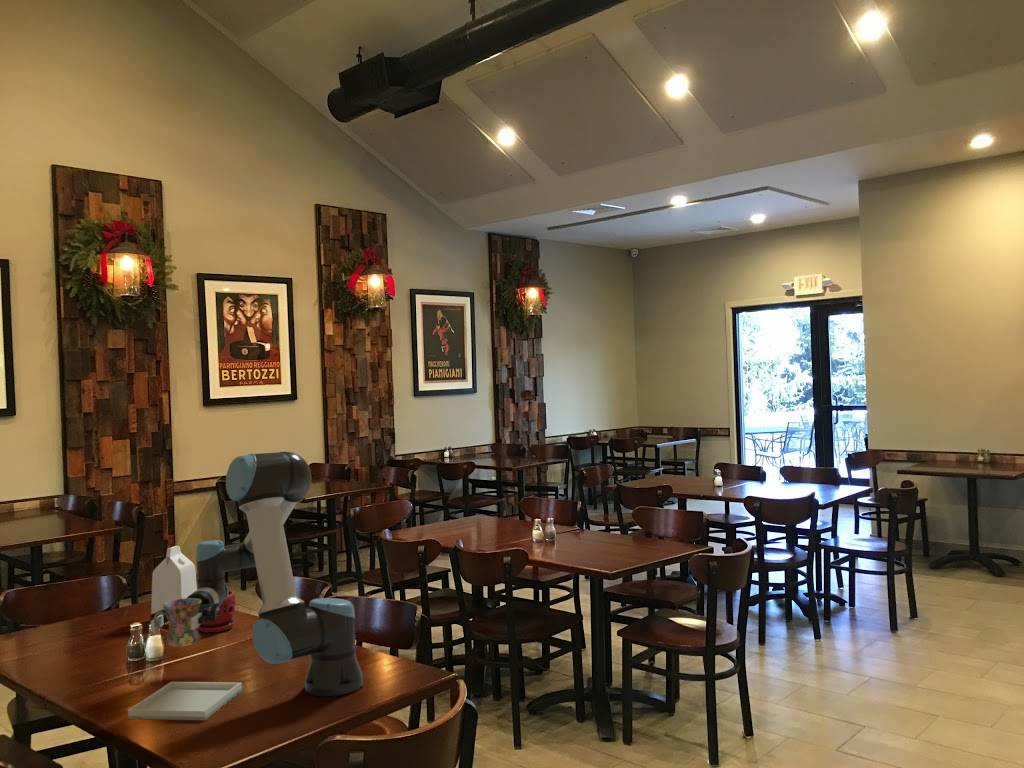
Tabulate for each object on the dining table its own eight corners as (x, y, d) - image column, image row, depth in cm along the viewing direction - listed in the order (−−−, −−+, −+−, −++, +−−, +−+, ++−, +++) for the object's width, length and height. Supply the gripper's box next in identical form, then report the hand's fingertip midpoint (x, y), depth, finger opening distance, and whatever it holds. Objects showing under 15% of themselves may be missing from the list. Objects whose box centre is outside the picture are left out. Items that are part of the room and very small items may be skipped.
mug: (192, 636, 223) (191, 596, 223) (209, 642, 216) (207, 601, 216) (147, 647, 214) (146, 605, 214) (162, 654, 208) (161, 611, 208)
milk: (168, 616, 303) (166, 544, 303) (198, 616, 301) (196, 544, 302) (150, 625, 291) (148, 550, 291) (182, 625, 289) (180, 550, 290)
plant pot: (231, 621, 293) (230, 587, 293) (239, 630, 281) (238, 594, 281) (191, 628, 286) (190, 593, 286) (198, 637, 275) (197, 600, 275)
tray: (242, 690, 223) (241, 682, 223) (205, 720, 203) (205, 711, 203) (171, 689, 225) (171, 681, 225) (128, 718, 205) (127, 709, 205)
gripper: (240, 615, 234) (217, 638, 212) (161, 619, 233) (128, 642, 211) (240, 588, 234) (216, 608, 212) (160, 592, 233) (127, 612, 211)
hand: (172, 625), depth 211 cm, fingers closed on mug, 9 cm apart
